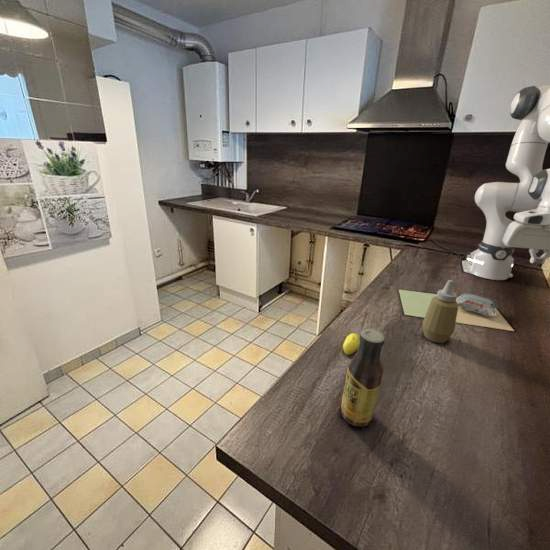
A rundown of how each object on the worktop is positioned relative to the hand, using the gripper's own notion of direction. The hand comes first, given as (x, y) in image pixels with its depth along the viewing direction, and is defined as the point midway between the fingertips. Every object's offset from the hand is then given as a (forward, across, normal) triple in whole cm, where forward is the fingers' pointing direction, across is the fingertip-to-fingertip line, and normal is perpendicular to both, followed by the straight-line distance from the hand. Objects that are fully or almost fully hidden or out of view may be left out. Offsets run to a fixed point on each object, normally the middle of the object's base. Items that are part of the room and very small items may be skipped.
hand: (536, 263), depth 88 cm
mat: (+19, +19, 0) cm, 27 cm away
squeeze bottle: (+19, +28, +21) cm, 40 cm away
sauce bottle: (+19, +49, +56) cm, 77 cm away
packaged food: (+19, +12, 0) cm, 22 cm away
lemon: (+19, +51, +34) cm, 64 cm away
